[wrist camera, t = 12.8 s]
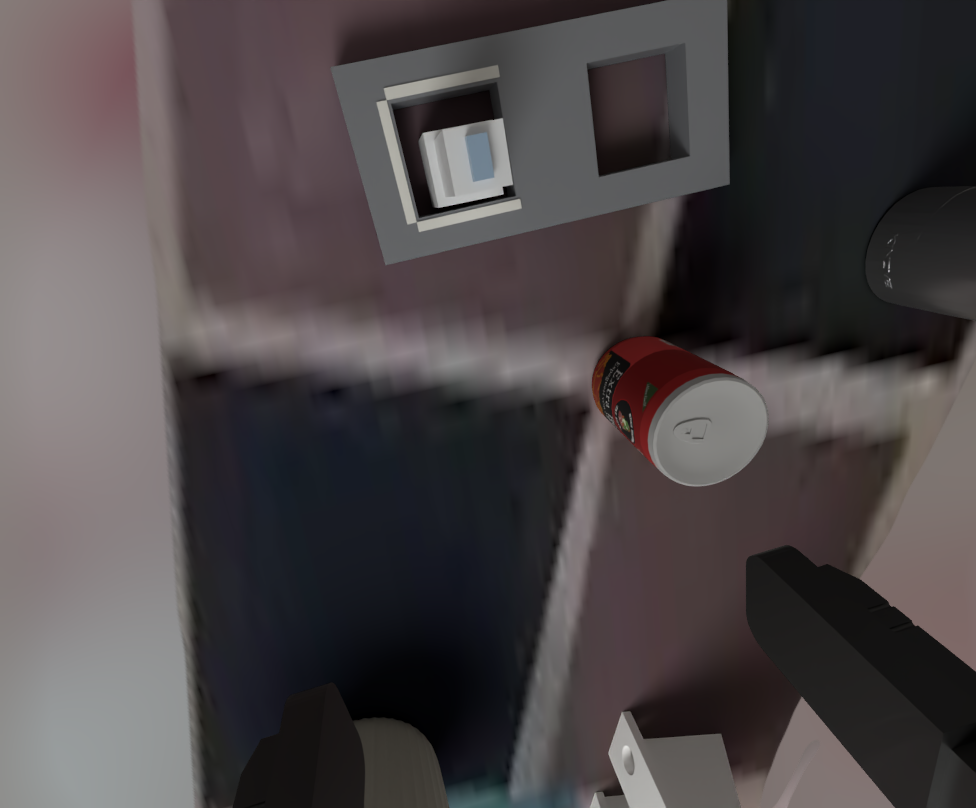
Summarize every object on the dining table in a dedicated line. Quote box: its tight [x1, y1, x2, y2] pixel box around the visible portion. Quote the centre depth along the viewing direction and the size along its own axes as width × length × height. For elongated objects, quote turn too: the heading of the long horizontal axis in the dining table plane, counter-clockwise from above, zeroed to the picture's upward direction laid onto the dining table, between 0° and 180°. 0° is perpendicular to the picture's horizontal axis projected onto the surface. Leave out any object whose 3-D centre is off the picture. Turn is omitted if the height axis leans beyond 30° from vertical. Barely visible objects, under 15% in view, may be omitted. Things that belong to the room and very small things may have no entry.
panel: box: [330, 0, 730, 265], centre depth 33 cm, size 24×11×3 cm, turn 102°
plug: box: [418, 118, 513, 208], centre depth 29 cm, size 4×4×10 cm
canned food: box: [592, 336, 768, 486], centre depth 37 cm, size 8×8×11 cm
